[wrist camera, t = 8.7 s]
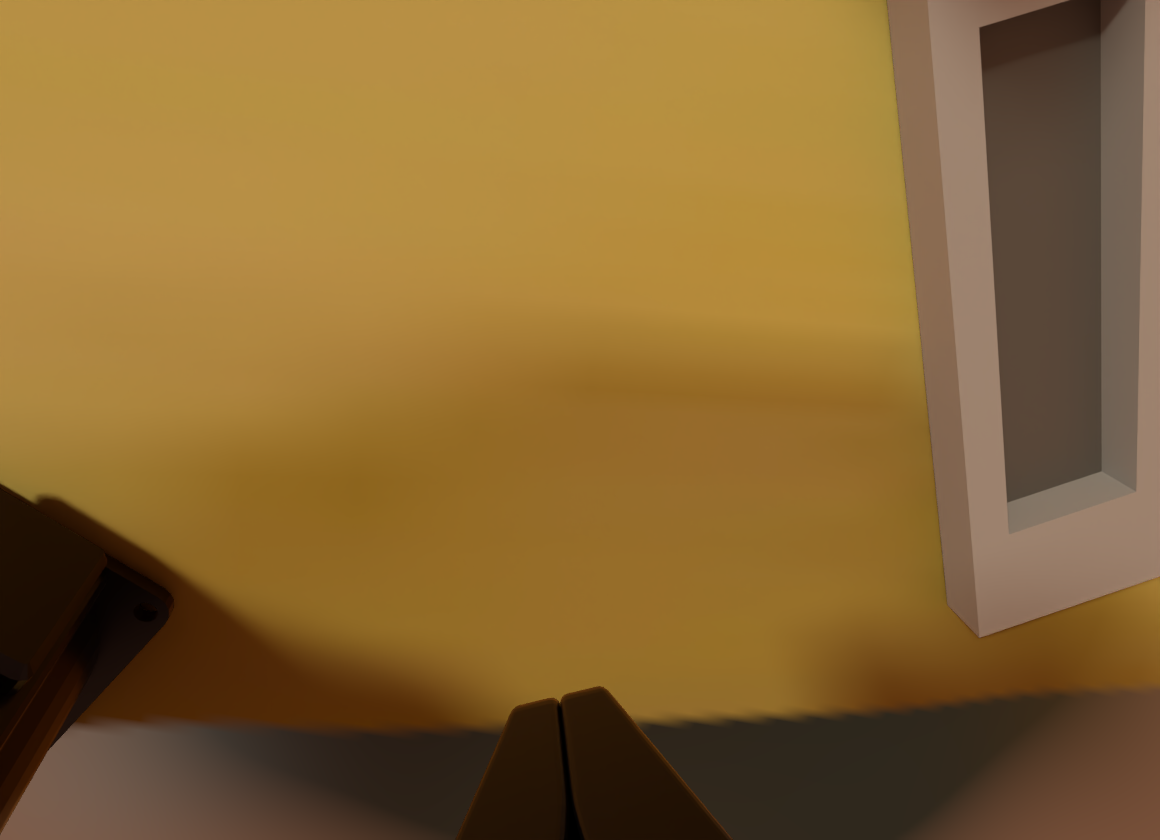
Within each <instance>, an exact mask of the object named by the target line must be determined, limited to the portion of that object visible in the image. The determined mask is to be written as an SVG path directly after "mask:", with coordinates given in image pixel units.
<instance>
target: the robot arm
mask: <svg viewBox="0 0 1160 840" xmlns="http://www.w3.org/2000/svg"><path fill="white" fill-rule="evenodd" d="M141 603H148V604H151V605H153V606H154V607H155V608H156V609H157V611H152V612H150V611H146V610H144V609H143V608H142V607H141V606H140V604H141ZM173 608H174V599H173V597H172V595H171V593H169V592H168V591H167V590H166V589H165V588H163V587H162V586H160V585H158V584H157V583H155V582H153V581H152V580H150V579H148V578H147V577H145V576H143V575H141V574H140V573H138V572H136V571H135V570H133V569H131V568H130V567H128V566H126V565H125V564H123V563H121V562H119V561H118V560H116V559H114V558H113V557H111V556H109V555H108V554H106V553H104V551H103V550H102V549H101V548H99V547H97V546H96V545H94V544H92V543H91V542H89V541H87V540H86V539H84V538H82V537H81V536H79V535H77V534H75V533H74V532H72V531H70V530H69V529H67V528H65V527H64V526H62V525H60V524H59V523H57V522H55V521H54V520H52V519H50V518H48V517H47V516H45V515H43V514H42V513H40V512H38V511H37V510H35V509H33V508H32V507H30V506H28V505H27V504H25V503H23V502H21V501H20V500H18V499H16V498H15V497H13V496H11V495H10V494H8V493H6V492H5V491H3V490H1V489H0V834H1V833H2V831H3V829H4V827H5V825H6V824H7V822H8V820H9V818H10V817H11V815H12V813H13V811H14V810H15V808H16V806H17V804H18V802H19V801H20V799H21V797H22V795H23V793H24V792H25V790H26V788H27V786H28V785H29V783H30V781H31V780H32V778H33V776H34V774H35V772H36V771H37V769H38V767H39V765H40V763H41V762H42V760H43V758H44V756H45V755H46V753H47V751H48V750H49V749H50V748H51V747H52V746H53V745H54V743H55V742H56V741H57V740H58V739H59V738H60V737H61V736H62V735H63V734H64V733H65V732H66V731H67V729H68V728H69V727H70V726H71V725H72V724H73V723H74V722H75V721H76V720H77V719H78V718H79V716H80V715H81V714H82V713H83V712H84V711H85V710H86V709H87V708H88V707H89V706H90V705H91V704H92V702H93V701H94V700H95V699H96V698H97V697H98V696H99V695H100V694H101V693H102V692H103V691H104V689H105V688H106V687H107V686H108V685H109V684H110V683H111V682H112V681H113V680H114V679H115V678H116V676H117V675H118V674H119V673H120V672H121V671H122V670H123V669H124V668H125V667H126V666H127V665H128V663H129V662H130V661H131V660H132V659H133V658H134V657H135V656H136V655H137V654H138V653H139V652H140V650H141V649H142V648H143V647H144V646H145V645H146V644H147V643H148V642H149V641H150V640H151V639H152V637H153V636H154V635H155V634H156V633H157V632H158V631H159V630H160V629H161V628H162V627H163V626H164V625H165V623H166V621H167V620H168V618H169V616H170V614H171V612H172V610H173ZM456 840H733V839H732V838H731V837H730V836H729V834H728V833H727V832H726V831H725V830H724V828H723V827H722V826H721V825H720V824H719V822H718V821H717V820H716V819H715V818H714V816H713V815H712V814H711V813H710V812H709V810H708V809H707V808H706V807H705V806H704V805H703V803H702V802H701V801H700V800H699V799H698V797H697V796H696V795H695V794H694V792H693V791H692V790H691V789H690V788H689V787H688V786H687V784H686V783H685V782H684V781H683V780H682V778H681V777H680V776H679V775H678V773H677V772H676V771H675V770H674V769H673V767H672V766H671V765H670V764H669V763H668V762H667V760H666V759H665V758H664V757H663V755H662V754H661V753H660V752H659V751H658V750H657V748H656V747H655V746H654V745H653V744H652V742H651V741H650V740H649V739H648V738H647V736H646V735H645V734H644V733H643V732H642V730H641V729H640V728H639V727H638V726H637V724H636V723H635V722H634V721H633V720H632V718H631V717H630V716H629V715H628V714H627V712H626V711H625V710H624V709H623V708H622V706H621V705H620V704H619V703H618V702H617V701H616V699H615V698H614V697H613V696H612V695H611V693H610V692H609V691H608V690H607V689H605V688H604V687H600V686H598V687H593V688H589V689H585V690H581V691H577V692H572V693H568V694H566V695H564V696H563V697H562V699H561V702H560V703H559V701H558V700H557V699H555V698H547V699H543V700H539V701H535V702H531V703H527V704H522V705H519V706H517V707H515V708H514V709H513V710H512V712H511V714H510V716H509V718H508V720H507V723H506V725H505V727H504V729H503V732H502V734H501V736H500V739H499V741H498V743H497V745H496V748H495V750H494V752H493V755H492V757H491V759H490V762H489V764H488V766H487V768H486V771H485V773H484V775H483V778H482V780H481V782H480V785H479V787H478V789H477V791H476V794H475V796H474V798H473V801H472V803H471V805H470V808H469V810H468V812H467V814H466V817H465V819H464V821H463V824H462V826H461V828H460V830H459V833H458V835H457V837H456Z"/></svg>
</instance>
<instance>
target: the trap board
mask: <svg viewBox="0 0 1160 840" xmlns="http://www.w3.org/2000/svg"><path fill="white" fill-rule="evenodd" d="M887 6H888V16H889V26H890V36H891V46H892V56H893V66H894V76H895V86H896V96H897V106H898V116H899V126H900V136H901V145H902V155H903V165H904V175H905V185H906V195H907V205H908V215H909V225H910V235H911V245H912V255H913V265H914V275H915V285H916V295H917V305H918V315H919V325H920V335H921V345H922V355H923V365H924V375H925V385H926V395H927V405H928V415H929V425H930V435H931V445H932V455H933V465H934V475H935V485H936V494H937V504H938V514H939V524H940V534H941V544H942V554H943V564H944V574H945V584H946V594H947V604H948V606H949V607H950V608H951V609H952V610H953V611H954V612H955V613H956V614H957V615H958V616H959V617H960V618H961V619H962V620H963V621H964V623H965V624H966V625H967V626H968V627H969V628H970V629H971V630H972V631H973V632H974V633H975V634H976V635H977V636H978V637H979V638H981V637H984V636H987V635H990V634H992V633H995V632H998V631H1001V630H1004V629H1007V628H1010V627H1013V626H1016V625H1019V624H1022V623H1025V622H1028V621H1031V620H1034V619H1036V618H1039V617H1042V616H1045V615H1048V614H1051V613H1054V612H1057V611H1060V610H1063V609H1066V608H1069V607H1072V606H1075V605H1078V604H1080V603H1083V602H1086V601H1089V600H1092V599H1095V598H1098V597H1101V596H1104V595H1107V594H1110V593H1113V592H1116V591H1119V590H1122V589H1124V588H1127V587H1130V586H1133V585H1136V584H1139V583H1142V582H1145V581H1148V580H1151V579H1154V578H1157V577H1160V0H887Z"/></svg>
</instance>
